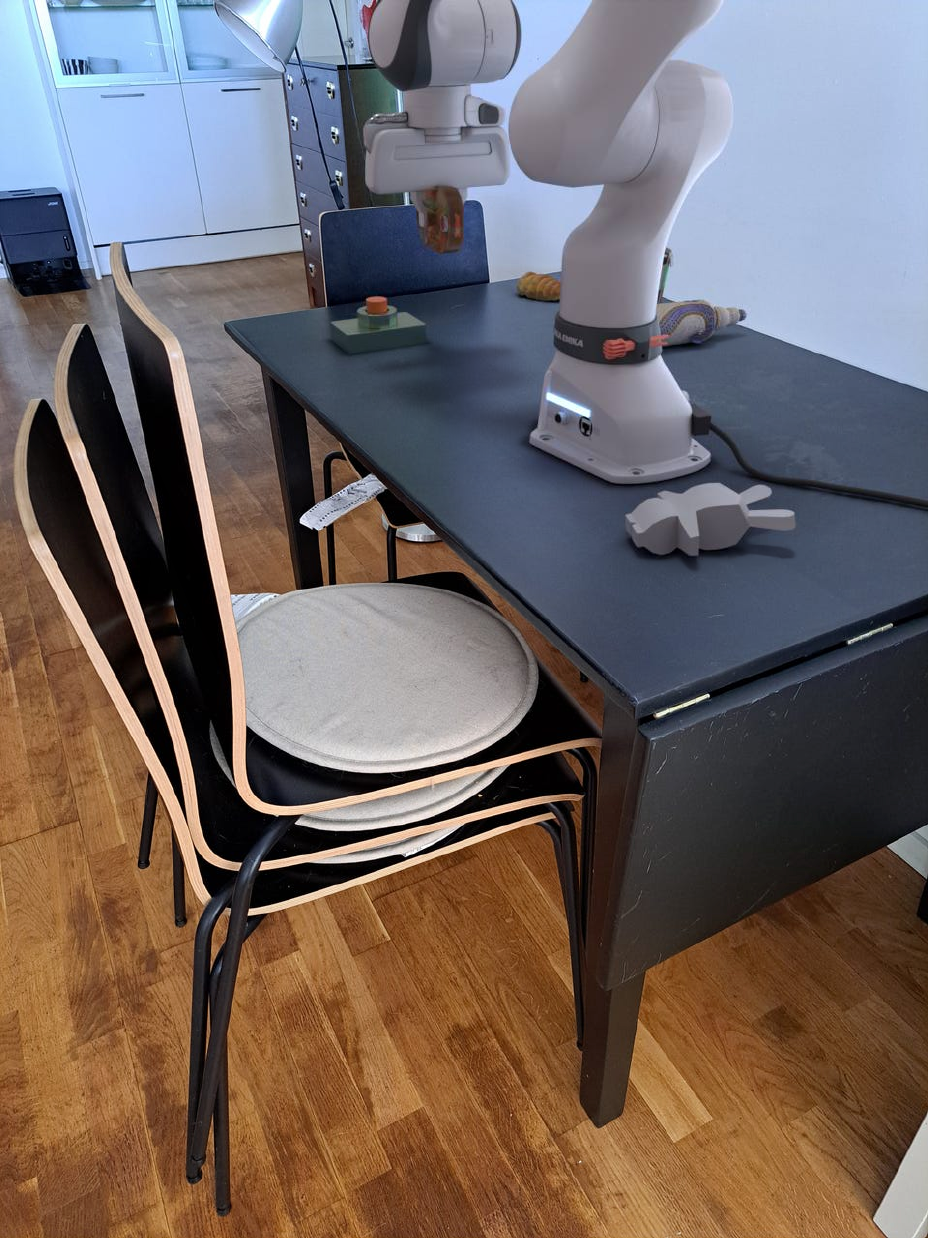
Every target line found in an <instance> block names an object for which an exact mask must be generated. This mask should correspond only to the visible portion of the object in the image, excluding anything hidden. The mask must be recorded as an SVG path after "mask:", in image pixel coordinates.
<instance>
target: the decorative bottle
mask: <svg viewBox="0 0 928 1238" xmlns="http://www.w3.org/2000/svg"><path fill="white" fill-rule="evenodd" d="M656 315H657V317H658V319H659V326H660V329H661V335H666V334H668V335H669V337H667V338H665V339H663V340H661V342H667V343H668V344H667V345H662V348H663V347H669V346H679V345H684V344H685V345H686V344H691V343H694V344H699V345H700V344H702V343H703V342H704V341H707V340H708V339H709V338H711V337H712V335H713V334H714V333H715V331H716V332H717V331H719V330H722V329H724V328H726V327H732V326H736V325H737V324H738V323H739V322H742V321H745V320H746V318H747V311H745V310H744V309H742V308H737V307H724V306H723V307H722V306H713V304H712V303H710V302H709V301H707V300H705V299H692V300H683V301H671V302H661V304H657V307H656Z"/></svg>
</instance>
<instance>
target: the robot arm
mask: <svg viewBox="0 0 928 1238" xmlns="http://www.w3.org/2000/svg"><path fill="white" fill-rule="evenodd" d="M724 2H725V0H591V2H590V4H589V5H588V7H587V9H586V11H585V12H584V14H583V15H582V17H581V18H580V21H579V22H578V23H577V25H576V27H575V28H574V29H573V31H572V32H571V34H570V35H569V37H568V38H567V39H566V40H565V42H564V43H563V44H562V46H561V47H560V48H559V49H558V50H557V52H556V53H555V54H554V55H552V57H551V58H550V59H549V60H548V61H547V62H546V63H545V64H543V65H542V66H541V67H540V68H539V69H537V70H535V72H533V73H532V74H530V75H529V76H528V77H526V79H525V80H524V81H523V82H522V83H521V85H520V86H519V88H518V90H517V92H516V94H515V96H514V99H513V100H512V103H511V106H510V111H509V116H508V125H507V126H508V130H507V131H508V133H507V131H506V130H505V128H503V127H502V125H504V124H505V123H506V115H507V113H506V109H505V108H504V107H503V106H502V105H499V104H496V103H493V102H490V101H489V100H485V99H484V98H481V97H477V96H474V95H473V94H472V85H474V84H477V85H478V84H489V83H494V82H497V81H501V80H504V79H505V78H506V77H507V76H508V75H510V73H511V72H512V70H513V69H514V68H515V65H516V63H517V61H518V58H519V54H520V53H521V52H520V51H521V46H522V23H521V22H522V21H521V17H520V14H519V10H518V9H517V5H516V4H515V2H514V1H513V0H377V1H376V3H375V5H374V6H373V9H372V12H371V14H370V17H369V21H368V27H367V28H368V29H367V42H368V43H367V44H368V50H369V54H370V58H371V61H372V62H373V64H374V66H375V67H376V70H378V71H379V73H380V75H382V77H383V78H384V79H385V80H386V81H387V82H388V83H389V84H391V86H393V87H394V88H395V89H396V90H398V91H400V92H402V100H403V101H402V102H403V111H401V112H391V113H382V112H381V113H380V112H379V113H375V114H372V117H370V118H368V119H367V121H366V122H365V124H364V126H363V128H362V129H363V130H362V133H363V145H364V148H365V150H366V151H365V165H364V166H365V167H364V169H365V170H364V175H365V185H366V186H367V188H368V189H369V190H370V191H371V192H372V193H374V194H377V195H390V194H391V195H392V194H404V193H409V195H410V196H409V199H410V201H411V202H412V204H413V206H414V207H415V210H416V209H417V211H418V212H419V225H420V226H422V227H429V226H433V224H434V221H433V213H432V212H430V211H427V210H426V208H425V206H424V204H423V202H422V200H425V199H426V193H425V191H430V190H438V187H436V186H452V187H454V188H456V189H457V190H458V191H459V193H460V195H461V197H462V201H463V205H465V202H466V201H467V198H468V188H479V187H481V188H482V187H491V186H493V187H494V186H503V185H505V184H506V182H507V181H508V179H509V177H510V175H511V154H510V153H512V156H513V158H514V160H515V162H516V164H517V166H518V167H519V169H520V170H521V172H522V173H523V175H525V177H526V178H528V179H529V180H530V181H533V182H536V183H540V184H541V183H542V184H547V185H552V186H559V187H563V188H564V187H565V188H573V189H574V188H575V189H576V188H584V187H591V186H592V187H594V186H602V185H603V186H602V190H601V192H600V195H599V198H598V199H597V202H596V203H595V205H594V207H593V209H592V211H591V212H590V213H589V215H588V216H587V217H586V218H585V219H584V220H583V221H582V222H581V223H580V224H578V225H577V226H576V227H575V228H574V229H573V230H572V231H571V232H570V233H569V235H568V236H567V238H566V240H565V242H564V245H563V248H562V253H561V254H562V256H561V267H560V268H561V271H560V283H561V287H560V299H559V308H558V309H559V310H558V311H557V312H556V313H555V315H554V324H553V329H552V333H553V341H552V344H553V346H554V348H555V352H554V355H553V358H552V360H551V362H550V364H549V366H548V368H547V370H546V372H545V374H544V378H543V384H542V392H541V398H540V407H539V413H538V414H539V415H538V423H537V427H536V428H534V430H532V431H531V432H530V435H529V441H528V442H529V444H530V445H532V446H534V447H535V448H538V449H540V450H542V451H544V452H546V453H548V454H550V455H553V456H554V457H556V458H558V459H560V460H563V461H565V462H567V463H569V464H571V465H573V466H575V467H578V468H580V469H582V470H584V471H585V472H587V473H590V474H592V475H595V476H596V477H599V478H601V479H603V480H604V481H607V482H609V483H612V484H619V485H620V484H621V485H631V484H635V485H636V484H637V485H638V484H647V483H655V482H660V481H665V480H666V481H667V480H670V479H676V478H679V477H682V476H685V475H689V474H693V473H696V472H698V471H699V470H701V469H703V468H705V467H707V466H708V465H709V464H710V463H711V461H712V460H711V457H712V454H711V452H710V451H709V450H708V449H706V447H704V445H702V444H701V443H699V442H698V441H697V440H695V439H694V438H693V436H694V437H701V436H708V435H709V434H710V431H711V432H712V433H714V434H715V435H716V436H718V437H719V438H720V439H721V440H722V441H723V442H724V443H725V444H726V445H727V446H728V448H729V449H730V451H731V452H732V454H733V457H735V460H736V462H737V463H738V464H739V466H740V467H741V468H742V470H744V471H745V472H746V473H748V474H750V475H752V476H753V477H755V478H758V479H759V480H762V481H767V482H770V483H776V484H782V485H792V486H802V487H808V488H809V487H810V488H816V489H819V490H825V491H832V492H837V493H842V494H843V493H844V494H849V495H857V496H863V497H869V498H875V499H880V500H885V501H890V502H894V503H895V502H897V503H901V504H906V505H911V506H915V507H921V508H925V509H928V500H926V499H921V498H916V497H912V496H908V495H907V496H906V495H901V494H896V493H890V492H887V491H886V492H885V491H880V490H874V489H869V488H864V487H863V488H862V487H855V486H850V485H843V484H839V483H838V484H837V483H833V482H825V481H821V480H814V479H807V478H800V477H799V478H797V477H786V476H779V475H773V474H769V473H766V472H763V471H760V470H758V469H756V468H755V467H753V466H752V465H750V464H749V463H748V462H747V461H746V460H745V458H744V457H743V454H742V453H741V451H740V449H739V447H738V446H737V444H736V443H735V442H734V440H733V439H732V438H731V437H730V436H729V435H728V434H727V433H726V432H725V431H723V430H722V429H721V428H719V426H717V425H716V424H715V423H713V422H712V414H710V413H709V412H707V411H706V410H705V409H703V408H701V407H700V406H699V405H697V404H695V403H690V401H691V400H690V395H689V393H688V392H687V391H686V390H682V389H681V387H680V386H679V384H678V383H677V381H676V379H675V377H674V376H673V374H672V373H671V371H670V369H669V368H668V366H667V365H666V362H665V361H664V359H663V356H662V353H663V347H662V345H667V344H668V343H667V342H661V340H663V339H665V338H667V337H669V335H668V334H666V335H661V329H660V326H659V319H658V317H657V315H656V307H657V299H658V292H659V285H660V278H661V271H662V265H663V259H664V253H665V249H666V247H667V245H668V241H669V237H670V234H671V232H672V229H673V227H674V224H675V222H676V219H677V216H678V215H679V212H680V210H681V208H682V206H683V204H684V202H685V200H686V198H687V196H688V195H689V192H690V191H691V189H692V187H693V186H694V184H695V183H696V181H697V180H698V179H699V177H700V176H701V175H702V174H703V172H704V171H705V170H706V169H707V168H708V167H709V166H710V165H711V164H713V162H714V161H715V160H717V158H718V157H719V156H720V154H721V153H722V152H723V151H724V148H725V147H726V145H727V143H728V140H729V138H730V135H731V131H732V128H733V123H734V100H733V96H732V92H731V89H730V87H729V84H728V82H727V80H726V79H725V77H724V76H723V75H722V74H721V73H719V71H717V70H715V69H713V68H710V67H706V66H703V65H700V64H697V63H693V62H690V61H686V60H682V59H672V58H673V57H674V55H675V54H676V53H677V51H678V50H680V48H682V46H683V45H684V44H685V43H686V42H687V41H688V40H690V39H691V38H692V37H694V36H695V35H696V34H698V33H699V32H700V31H701V30H703V29H704V28H706V27H707V26H708V25H709V24H710V23H711V22H712V21H713V20H714V18H716V16H717V15H718V14H719V11H720V10H721V8H722V7H723V4H724ZM510 150H511V152H510Z"/></svg>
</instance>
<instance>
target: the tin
mask: <svg viewBox="0 0 928 1238" xmlns="http://www.w3.org/2000/svg"><path fill="white" fill-rule="evenodd" d="M436 187H438V190H430V191H425V193H426V199H425V200H422V202H423V204H424V206H425V208H426V210H427V211H430V212H432V213H433V221H434V224H433V226H429V227H422V226H420V225H419V212H418V211H417V209H416V208H415V213H416V216H415V217H416V224H417V230H418V235H419V239H420V241H421V242H422V244H423V245H424V246H426V247H427V248H429V249H431V250H433V251H434V252H436V253H438V254H439V255H443V254H455V253H458V252H459V251H461V249H462V247H463V244H464V239H465V234H464V233H465V232H464V231H465V229H464V227H465V223H464V221H465V217H464V215H465V207H464V204H463V201H462V197H461V195H460V193H459V191H458V190H457V189H456V188H454V187H452V186H436Z"/></svg>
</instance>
